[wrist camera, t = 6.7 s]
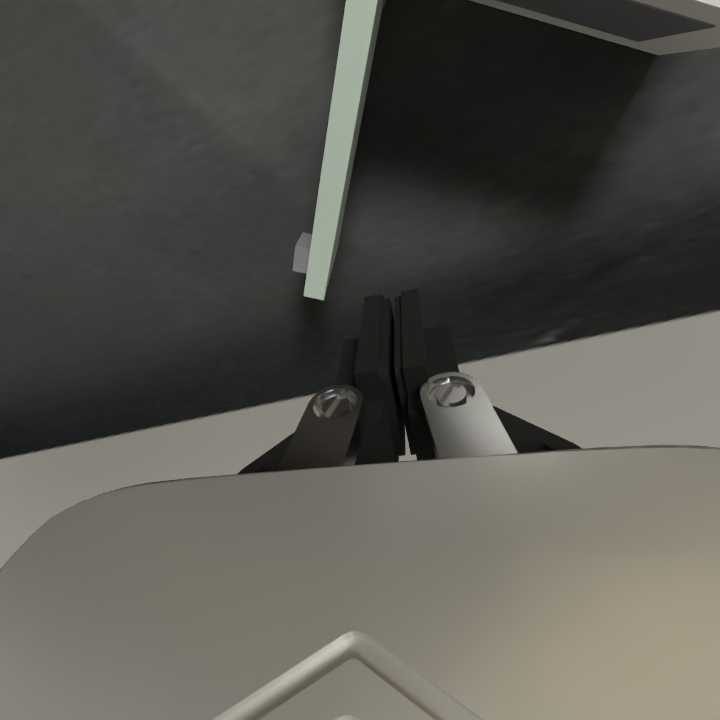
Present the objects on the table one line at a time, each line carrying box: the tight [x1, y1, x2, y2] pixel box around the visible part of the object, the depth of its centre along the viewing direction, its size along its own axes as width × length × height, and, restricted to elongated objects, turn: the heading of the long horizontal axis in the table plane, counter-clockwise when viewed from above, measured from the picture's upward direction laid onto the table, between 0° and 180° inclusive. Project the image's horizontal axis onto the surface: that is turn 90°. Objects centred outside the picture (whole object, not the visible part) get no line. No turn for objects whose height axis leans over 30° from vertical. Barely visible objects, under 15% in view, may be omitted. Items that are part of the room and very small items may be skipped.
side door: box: [293, 0, 386, 300], centre depth 18 cm, size 13×2×7 cm, turn 168°
